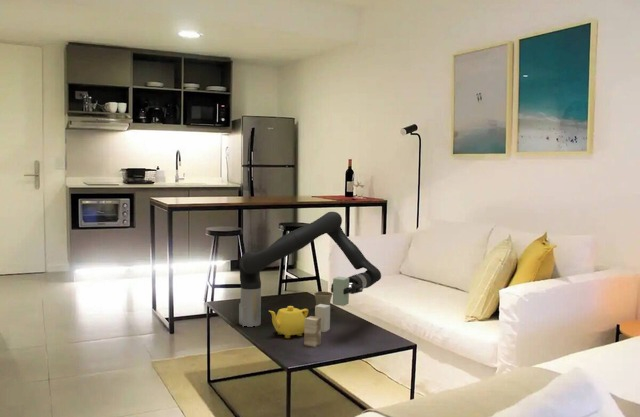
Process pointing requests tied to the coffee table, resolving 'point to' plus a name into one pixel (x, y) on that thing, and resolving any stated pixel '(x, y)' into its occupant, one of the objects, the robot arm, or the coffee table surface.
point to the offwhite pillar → (323, 316)
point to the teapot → (289, 321)
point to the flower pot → (323, 298)
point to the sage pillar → (340, 291)
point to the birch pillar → (312, 331)
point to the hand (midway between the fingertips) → (338, 291)
